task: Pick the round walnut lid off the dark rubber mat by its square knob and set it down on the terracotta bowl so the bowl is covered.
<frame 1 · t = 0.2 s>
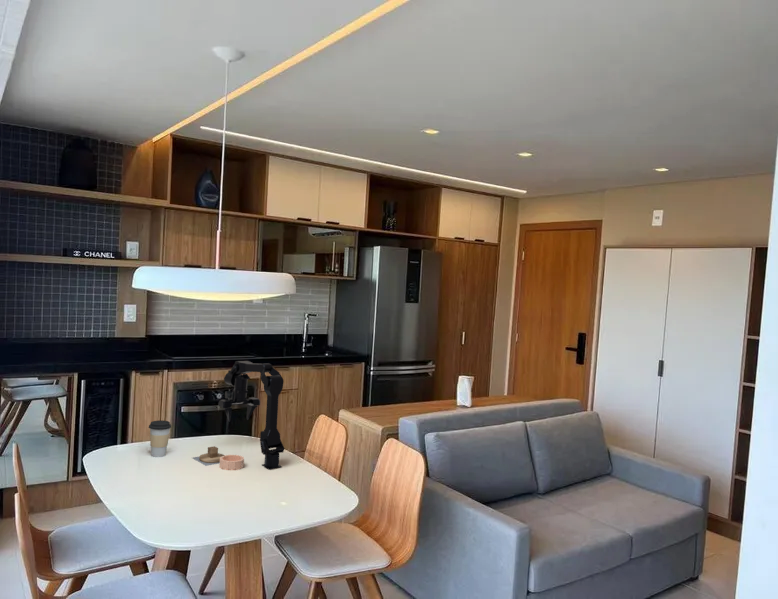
hand: (238, 420, 276), 14 cm above the table, fingers open, 9 cm apart
coffee cup: (158, 456, 260), on the table
bowl: (231, 467, 253), on the table
mat: (212, 460, 260), on the table
lid: (212, 459, 260), resting on mat
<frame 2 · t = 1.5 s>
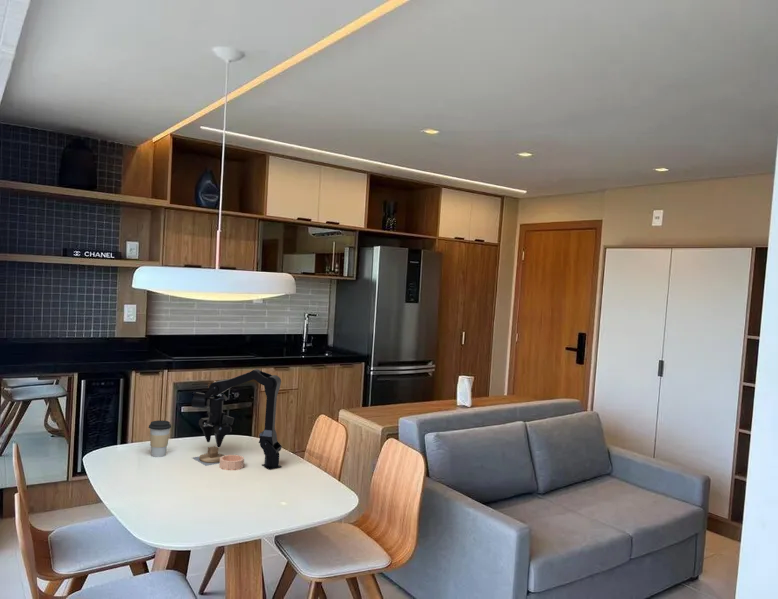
hand: (213, 444, 260), 7 cm above the table, fingers open, 9 cm apart
nothing on the table moved.
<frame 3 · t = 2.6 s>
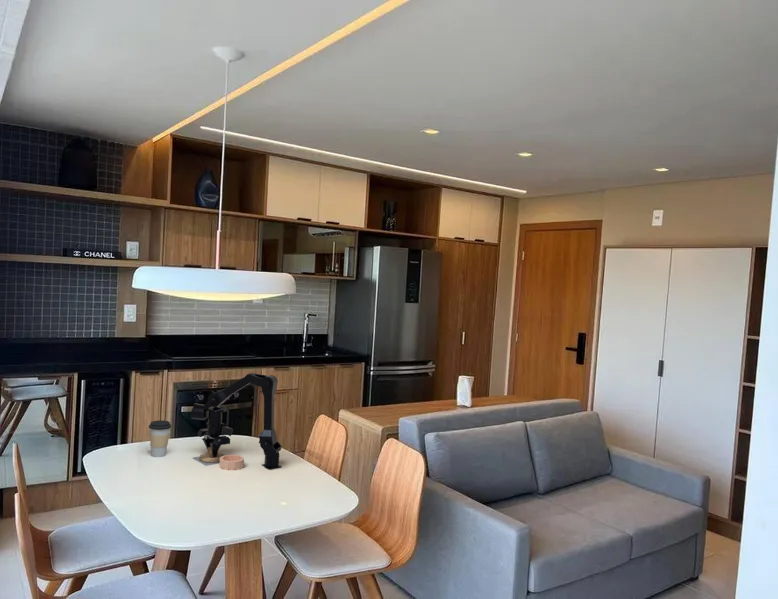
hand: (212, 455, 260), 2 cm above the table, fingers closed on lid, 3 cm apart
lid: (212, 459, 260), resting on mat, touching gripper
everything else where it was.
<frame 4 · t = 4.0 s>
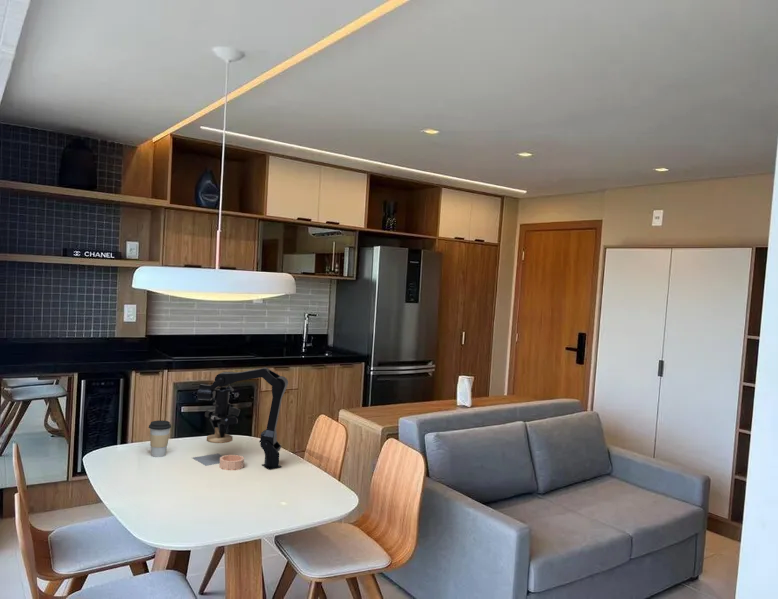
hand: (219, 436, 258), 11 cm above the table, fingers closed on lid, 3 cm apart
lid: (219, 439, 258), point 10 cm above the table, touching gripper
everything else where it was.
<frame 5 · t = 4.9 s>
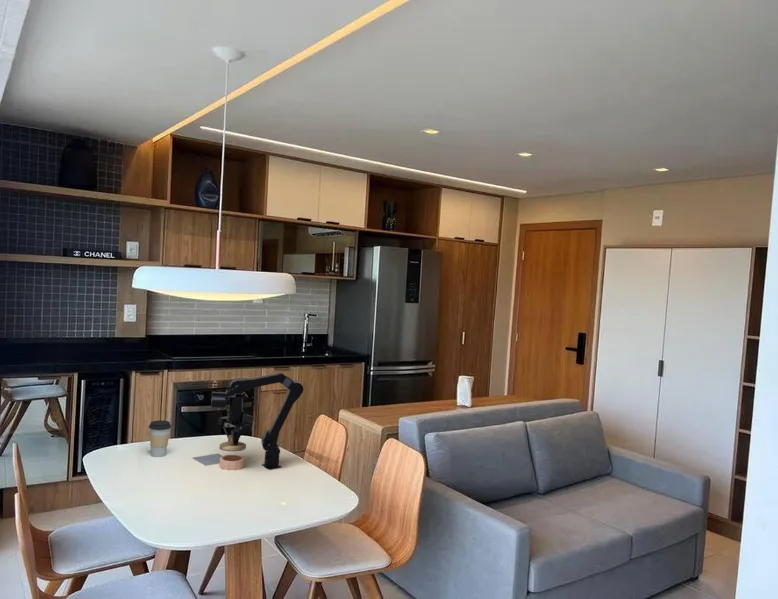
hand: (233, 444, 252), 10 cm above the table, fingers closed on lid, 3 cm apart
lid: (232, 447, 252), point 9 cm above the table, touching gripper
everything else where it was.
when the fingers open (7 cm above the table, at t = 5.7 s): lid drops 1 cm, resting on bowl.
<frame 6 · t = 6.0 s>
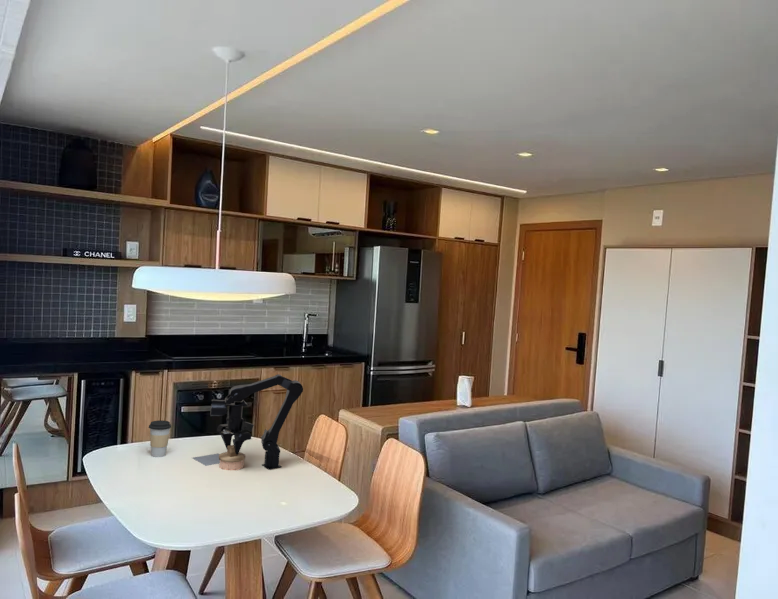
hand: (232, 452, 252), 7 cm above the table, fingers open, 7 cm apart
lid: (232, 458, 252), point 4 cm above the table, touching bowl
everything else where it was.
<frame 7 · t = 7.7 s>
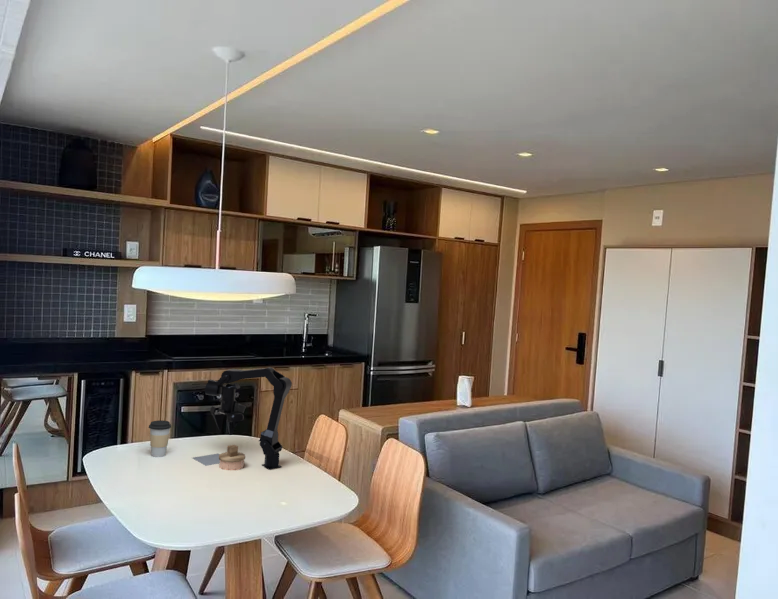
hand: (225, 432, 262), 12 cm above the table, fingers open, 9 cm apart
nothing on the table moved.
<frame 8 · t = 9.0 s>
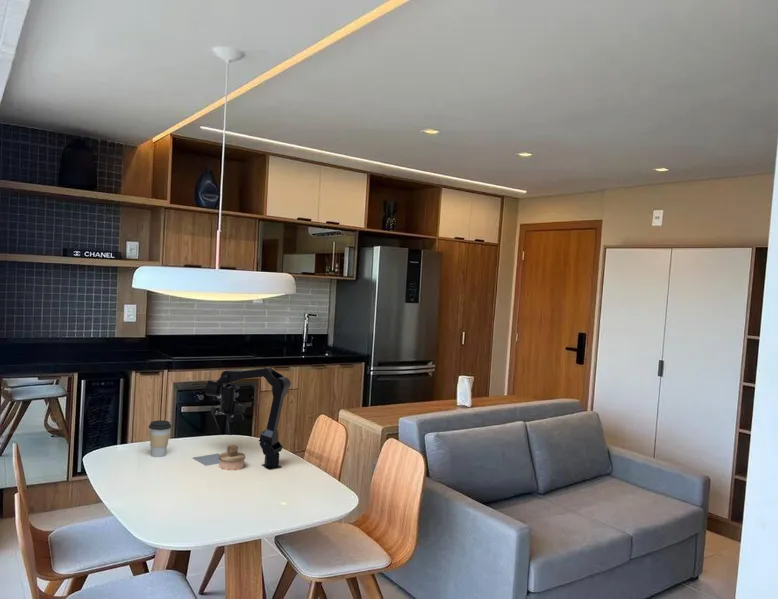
hand: (225, 432, 263), 12 cm above the table, fingers open, 9 cm apart
nothing on the table moved.
at the end: lid 0.0 cm off-centre on the bowl, point 4.0 cm above the bowl's base; lid tilted 0°; the gripper is holding nothing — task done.
